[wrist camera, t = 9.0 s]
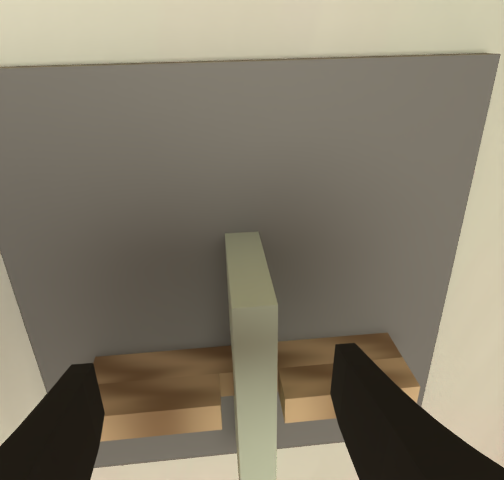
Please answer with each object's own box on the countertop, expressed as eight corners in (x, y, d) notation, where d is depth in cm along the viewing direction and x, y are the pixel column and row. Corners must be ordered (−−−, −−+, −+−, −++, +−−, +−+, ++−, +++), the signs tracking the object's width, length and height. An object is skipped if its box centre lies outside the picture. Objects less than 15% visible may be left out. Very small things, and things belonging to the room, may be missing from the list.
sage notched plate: (261, 433, 26) (275, 537, 21) (235, 436, 26) (243, 541, 20) (258, 231, 20) (278, 305, 14) (224, 233, 20) (231, 308, 14)
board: (77, 455, 27) (72, 470, 26) (-46, 68, 16) (-60, 70, 15) (408, 421, 28) (414, 434, 27) (486, 53, 18) (500, 54, 17)
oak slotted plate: (100, 379, 23) (81, 443, 19) (95, 356, 22) (74, 419, 18) (384, 354, 24) (415, 410, 20) (387, 332, 23) (420, 386, 20)
